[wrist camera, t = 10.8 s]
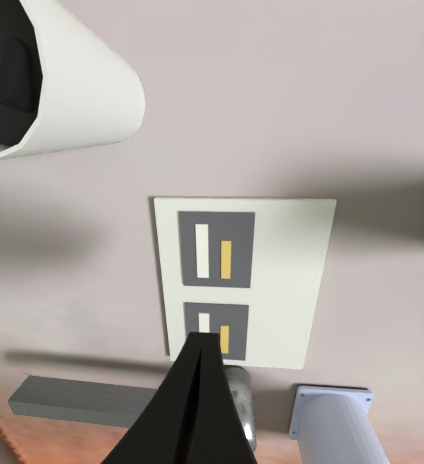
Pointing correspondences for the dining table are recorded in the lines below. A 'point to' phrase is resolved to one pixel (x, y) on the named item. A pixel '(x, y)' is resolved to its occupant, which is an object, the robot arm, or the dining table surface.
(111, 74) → the white tumbler
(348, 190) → the dining table surface
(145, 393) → the swing arm
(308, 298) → the label board
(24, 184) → the dining table surface
